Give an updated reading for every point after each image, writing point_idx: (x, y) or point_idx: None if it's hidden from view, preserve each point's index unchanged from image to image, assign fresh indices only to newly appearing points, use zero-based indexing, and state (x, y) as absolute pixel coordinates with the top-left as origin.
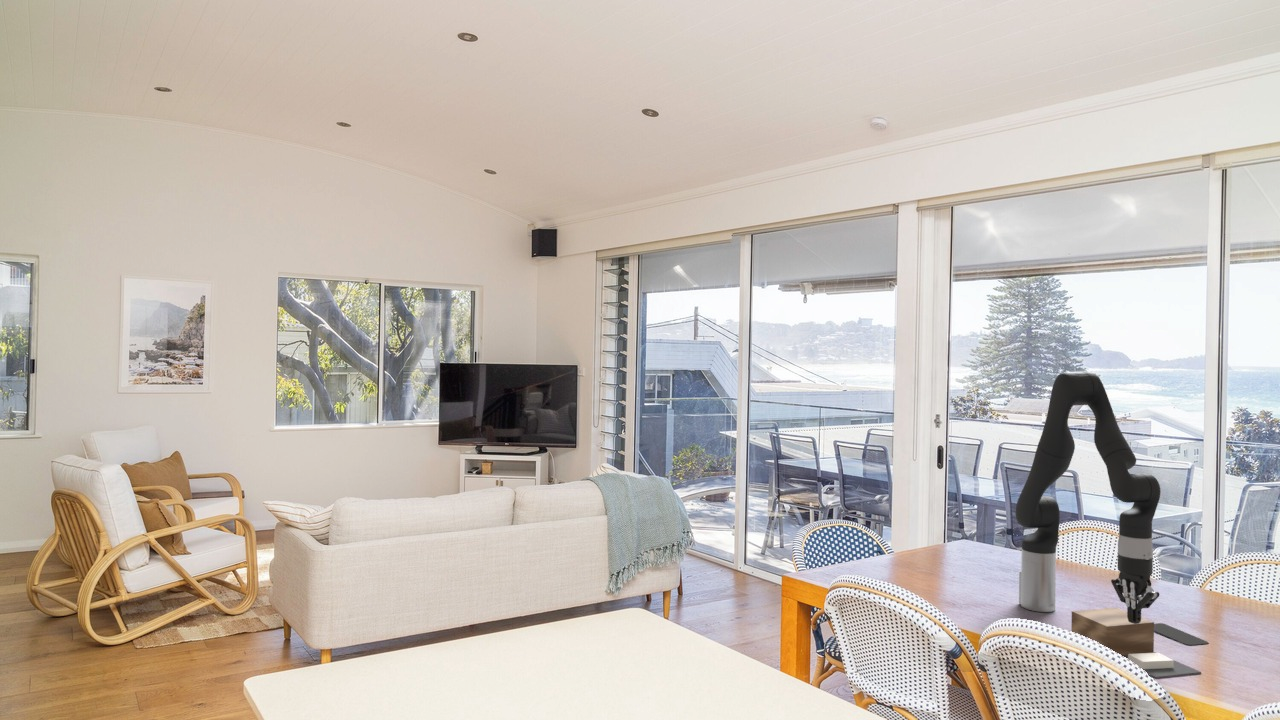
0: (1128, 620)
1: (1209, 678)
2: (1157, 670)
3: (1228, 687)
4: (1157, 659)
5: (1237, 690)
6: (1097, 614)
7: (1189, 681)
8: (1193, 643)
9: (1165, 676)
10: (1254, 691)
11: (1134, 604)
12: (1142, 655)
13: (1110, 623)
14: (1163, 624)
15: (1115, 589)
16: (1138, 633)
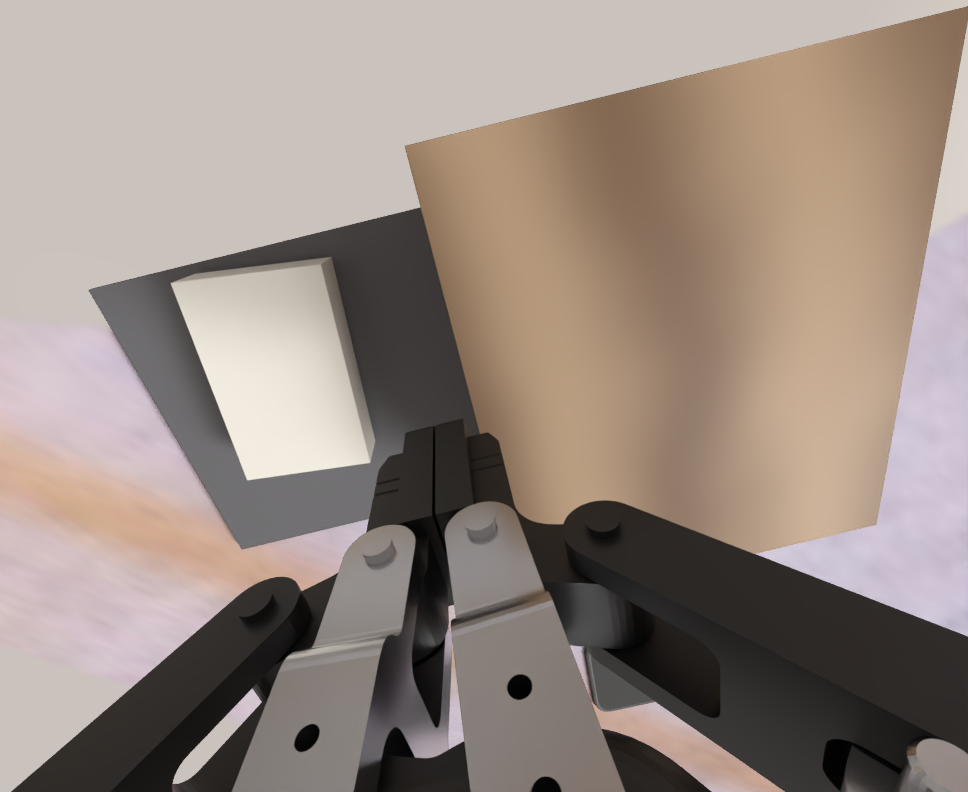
0: (458, 420)
1: (188, 547)
2: None
3: (84, 566)
4: (243, 401)
5: (55, 582)
6: (783, 273)
7: (112, 445)
8: (596, 667)
9: (131, 355)
10: (69, 632)
11: (349, 588)
12: (303, 347)
13: (509, 249)
14: None
15: (854, 605)
16: None
